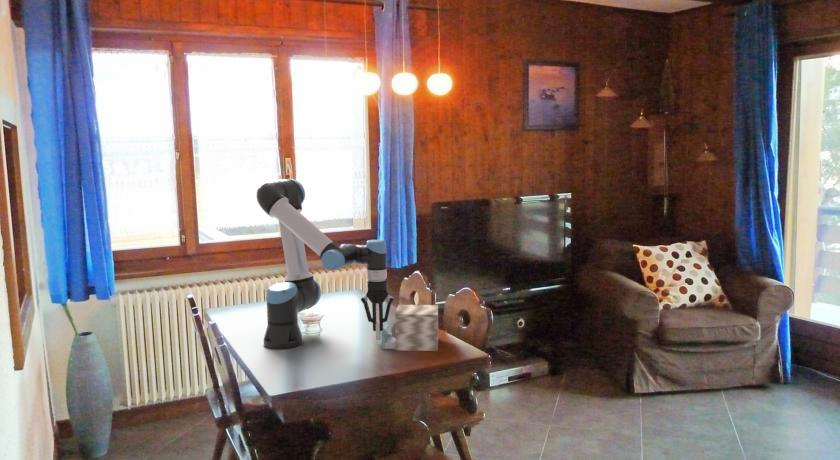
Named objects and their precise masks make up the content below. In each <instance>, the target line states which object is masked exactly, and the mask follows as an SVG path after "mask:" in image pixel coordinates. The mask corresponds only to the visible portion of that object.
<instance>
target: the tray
mask: <svg viewBox="0 0 840 460" xmlns="http://www.w3.org/2000/svg"><path fill="white" fill-rule="evenodd" d="M390 349H391V350H392V349H393V350H396V340H395V338H394V337H393V336H392V333H390V332H389V324H383V330H382V331H381V350H390Z"/></svg>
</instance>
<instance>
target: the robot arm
mask: <svg viewBox="0 0 840 460" xmlns="http://www.w3.org/2000/svg"><path fill="white" fill-rule="evenodd" d="M305 198H306V192H305V188H304V186H303V185H302V184H301V183H300V181H298V180H296V179H293V178H280V179H267V180H264V181H263V182H262V183H261V184H260V185H259V186H258V188H257V190H256V200H257V203H258V205H259V207H260V208H261V210H263V211H264V212H265V213H266V214H267V215H268V216H269V217H270V218H275V219H277V220H278V225H279V231H280V237H281V242H282V248H283V255H284V260H285V267H286V273H287V276H286V277H285V279H284V282H279V283H274V284H272V285H270V286H269V287H268V288H267V290H266V297H265V299H266V310H267V311H266V313H267V314H266V316H267V317H266V318H267V327H266V331H265V334H264V336H263V337H264V338H263V346H264V347H265V348H269V349H275V350H284V349H286V350H287V349H292V348H296V347H298V346H301V345H302V344H303V343H304V339H303V334H302V331H301V329H300V326H299V321H298V313H300V312H302V311H305V310H308V309H311V308H312V307H314V306H315V305H317V304H318V303H319V301H320V299H321V296H322V291H321V290H322V289H321V286H320V283H318V282H317V281H316V280H315V279H314V274H313V273H311V272H310V271H309V265H308V259H307V252H306V248H305V245H306V246H308V248H309V249H311V250H312V252H314V253H315V254H316V255H317V256H319V258H321V264H322V265H323V267H324V268H325V269H326V270H328V271H339V270H340V269H342V268H346V267H348V266H351V265H357V264H359V265H366V273H367V276H366V278H367V292H366V294H365V295H364V296H361V299H360V301H361V302H362V304H363V306H364V310H365V314H366V318H367V321H368V323H369V322H370V323H372V330H373V332H375V341H380V340H381V339H382V336H381V332H382V331H383V328H384V323H386V322H388V318H389V314H390V309H391V306H392V303H393V301H394V299H395V297H394V296H391V295H389V292H388V282H387V280H386V279H388V277H387V275H388V274H387V271H388V269H387V245H386V241H385V240H384V239H369V240H367V241H366V244H356V243H353V244H352V243H341V244H340V245H337V244H336V243H335V242H334V241H332V239H330V238H329V237H328V236H327V235H326V234H325V233H324V232H322V231H321V229H319V228H318V227H317V226H315V225H314V223H312V222H311V221H310V220H309V219H307V217H305V216H304V215H303V214H302V213H301V212H302V211H303V207H302V204H303V203H304V200H306V199H305ZM386 299H387V300H386ZM368 300H369V301H370V303H372V304H371V306H372V307H371V309H372V314H371V310H370V307H369V302H368ZM385 301H387V305H386V310H385V313H384V307H383V305H384V302H385ZM377 305H378V316H379V317H378V320H379V321H377Z"/></svg>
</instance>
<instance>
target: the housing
mask: <svg viewBox="0 0 840 460" xmlns="http://www.w3.org/2000/svg"><path fill="white" fill-rule="evenodd" d="M394 317H395V320H394V321H395V322H394V323H395V340H396V349H395V351H419V352H420V351H421V352H422V351H430V352H431V351H432V352H433V351H435V352H437V351H439V350H438V349H439V305H438V304H398V305H397V308H396V311H395V313H394Z"/></svg>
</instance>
